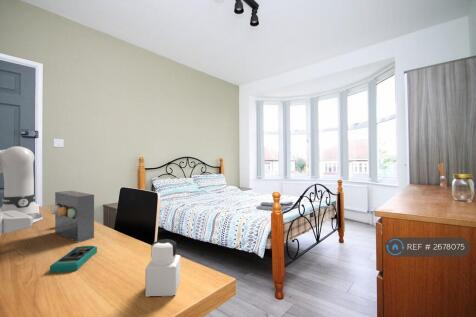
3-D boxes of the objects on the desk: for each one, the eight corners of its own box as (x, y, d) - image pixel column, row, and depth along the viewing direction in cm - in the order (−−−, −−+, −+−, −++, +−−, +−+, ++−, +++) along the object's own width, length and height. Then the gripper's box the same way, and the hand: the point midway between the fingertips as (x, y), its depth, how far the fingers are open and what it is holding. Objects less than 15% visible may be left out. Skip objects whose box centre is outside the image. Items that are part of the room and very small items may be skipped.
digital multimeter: (98, 252, 83) (98, 244, 83) (76, 272, 68) (76, 262, 68) (75, 254, 82) (75, 245, 82) (48, 275, 67) (48, 264, 67)
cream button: (51, 213, 100) (51, 205, 100) (57, 212, 102) (57, 204, 102) (54, 214, 98) (54, 206, 98) (61, 213, 100) (61, 205, 100)
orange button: (57, 215, 97) (57, 207, 97) (64, 214, 99) (64, 206, 99) (60, 217, 95) (60, 208, 95) (67, 215, 97) (67, 207, 97)
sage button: (67, 217, 94) (67, 208, 94) (74, 216, 96) (74, 207, 96) (71, 218, 92) (71, 209, 92) (78, 217, 94) (78, 208, 94)
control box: (55, 232, 104) (55, 192, 104) (70, 229, 109) (70, 190, 109) (77, 242, 92) (77, 196, 92) (94, 237, 97) (94, 194, 97)
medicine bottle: (153, 282, 62) (153, 237, 62) (180, 280, 63) (180, 236, 63) (145, 297, 55) (145, 247, 55) (175, 296, 56) (175, 246, 56)
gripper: (-19, 227, 84) (30, 219, 96) (-4, 238, 73) (49, 227, 85) (-19, 210, 84) (30, 204, 96) (-4, 218, 73) (49, 210, 85)
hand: (39, 215), depth 90 cm, fingers closed
